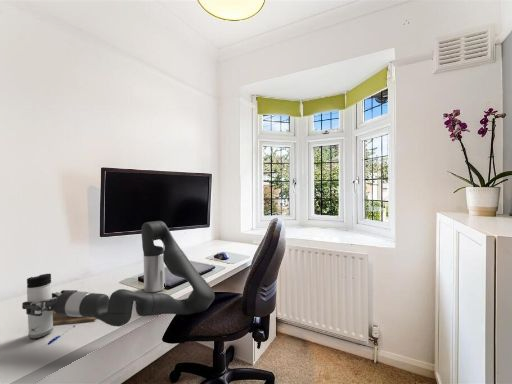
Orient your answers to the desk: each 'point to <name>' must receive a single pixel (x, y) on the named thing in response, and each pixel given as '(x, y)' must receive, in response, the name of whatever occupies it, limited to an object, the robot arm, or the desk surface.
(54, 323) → the mug holder
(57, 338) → the ballpoint pen
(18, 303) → the desk surface
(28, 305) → the robot arm
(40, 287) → the travel mug
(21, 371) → the desk surface
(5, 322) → the desk surface
